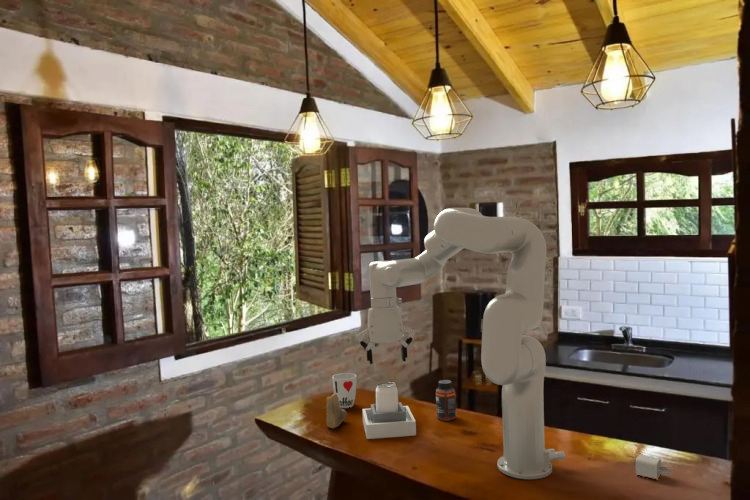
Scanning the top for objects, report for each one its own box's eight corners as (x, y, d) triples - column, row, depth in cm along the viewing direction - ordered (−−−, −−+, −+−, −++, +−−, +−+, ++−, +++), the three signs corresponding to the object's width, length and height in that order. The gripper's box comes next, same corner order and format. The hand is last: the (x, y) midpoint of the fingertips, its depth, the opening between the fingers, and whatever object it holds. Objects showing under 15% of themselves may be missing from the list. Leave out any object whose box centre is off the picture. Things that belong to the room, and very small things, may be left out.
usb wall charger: (640, 470, 126) (640, 453, 126) (674, 477, 122) (673, 460, 122) (635, 476, 123) (635, 459, 123) (670, 484, 119) (669, 466, 119)
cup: (330, 409, 179) (329, 379, 179) (336, 401, 187) (335, 372, 187) (355, 409, 178) (353, 379, 177) (359, 402, 186) (358, 373, 185)
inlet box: (408, 418, 167) (407, 399, 167) (416, 435, 153) (415, 414, 153) (362, 421, 166) (362, 402, 166) (366, 439, 152) (365, 417, 152)
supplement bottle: (459, 416, 167) (458, 380, 167) (451, 422, 162) (450, 385, 162) (441, 413, 171) (440, 378, 170) (433, 419, 166) (432, 382, 165)
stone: (334, 431, 159) (333, 397, 159) (320, 429, 161) (319, 396, 161) (348, 421, 167) (347, 389, 167) (335, 419, 169) (333, 387, 169)
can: (396, 429, 156) (395, 388, 155) (374, 428, 157) (373, 387, 157) (400, 421, 162) (399, 381, 161) (379, 421, 163) (377, 381, 163)
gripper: (411, 299, 163) (414, 356, 163) (353, 304, 161) (356, 361, 161) (415, 302, 156) (418, 362, 156) (355, 306, 154) (358, 367, 154)
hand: (387, 361), depth 159 cm, fingers open, 9 cm apart
